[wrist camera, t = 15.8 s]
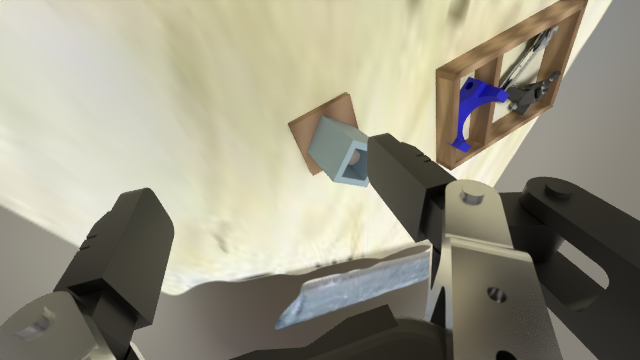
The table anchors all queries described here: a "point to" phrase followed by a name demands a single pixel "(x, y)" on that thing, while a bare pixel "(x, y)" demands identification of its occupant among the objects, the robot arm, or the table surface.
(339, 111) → the pin stand
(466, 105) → the cable clip
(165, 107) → the table surface
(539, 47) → the bicycle component
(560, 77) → the frame
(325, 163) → the collar
